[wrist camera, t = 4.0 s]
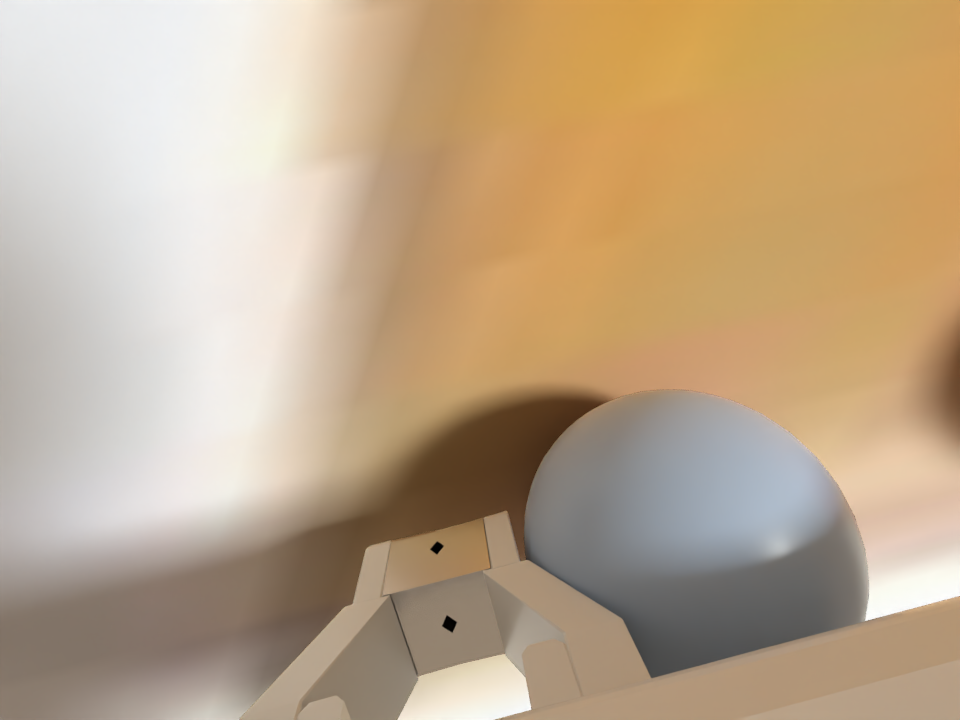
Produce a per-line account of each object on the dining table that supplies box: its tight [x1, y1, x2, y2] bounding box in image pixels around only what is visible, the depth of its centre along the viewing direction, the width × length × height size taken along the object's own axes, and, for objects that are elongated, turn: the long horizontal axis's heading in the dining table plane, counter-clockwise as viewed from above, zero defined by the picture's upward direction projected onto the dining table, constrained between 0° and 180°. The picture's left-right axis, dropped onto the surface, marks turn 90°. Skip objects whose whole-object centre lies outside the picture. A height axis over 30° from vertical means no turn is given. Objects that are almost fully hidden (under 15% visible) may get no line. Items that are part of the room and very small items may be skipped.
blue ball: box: [524, 389, 869, 678], centre depth 8 cm, size 6×6×6 cm
